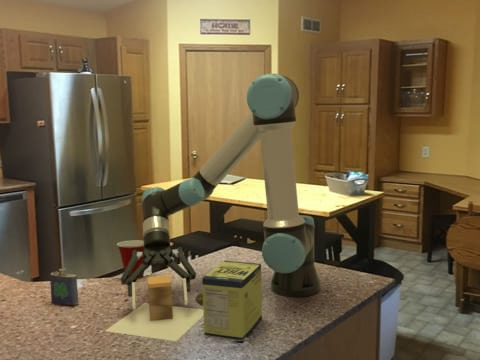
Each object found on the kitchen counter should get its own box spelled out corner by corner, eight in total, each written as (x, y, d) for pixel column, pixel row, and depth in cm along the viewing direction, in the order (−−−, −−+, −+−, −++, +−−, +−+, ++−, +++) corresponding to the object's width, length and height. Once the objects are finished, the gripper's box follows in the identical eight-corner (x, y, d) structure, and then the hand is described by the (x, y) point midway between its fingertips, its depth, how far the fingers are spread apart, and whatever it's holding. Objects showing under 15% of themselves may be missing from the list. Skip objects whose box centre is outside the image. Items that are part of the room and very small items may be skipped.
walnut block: (171, 310, 145) (170, 275, 144) (172, 318, 139) (171, 282, 138) (149, 312, 144) (147, 277, 143) (149, 320, 138) (148, 284, 137)
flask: (80, 303, 154) (77, 268, 153) (73, 307, 152) (71, 271, 150) (55, 300, 158) (52, 265, 156) (48, 303, 155) (45, 268, 154)
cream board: (209, 313, 145) (208, 310, 144) (176, 345, 126) (176, 341, 126) (144, 306, 151) (144, 302, 151) (104, 334, 133) (104, 331, 133)
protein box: (262, 319, 140) (261, 262, 138) (243, 344, 126) (241, 281, 123) (226, 314, 144) (224, 259, 142) (203, 338, 129) (201, 277, 127)
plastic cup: (154, 271, 183) (153, 237, 182) (146, 281, 173) (144, 246, 171) (124, 271, 184) (122, 237, 183) (114, 281, 174) (112, 246, 172)
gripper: (199, 239, 157) (206, 306, 144) (113, 245, 152) (113, 314, 140) (200, 226, 151) (208, 294, 138) (111, 231, 146) (110, 303, 134)
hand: (160, 305), depth 139 cm, fingers open, 13 cm apart
